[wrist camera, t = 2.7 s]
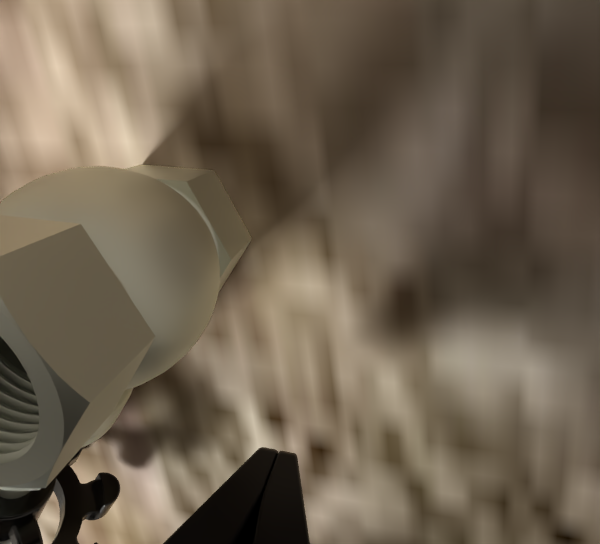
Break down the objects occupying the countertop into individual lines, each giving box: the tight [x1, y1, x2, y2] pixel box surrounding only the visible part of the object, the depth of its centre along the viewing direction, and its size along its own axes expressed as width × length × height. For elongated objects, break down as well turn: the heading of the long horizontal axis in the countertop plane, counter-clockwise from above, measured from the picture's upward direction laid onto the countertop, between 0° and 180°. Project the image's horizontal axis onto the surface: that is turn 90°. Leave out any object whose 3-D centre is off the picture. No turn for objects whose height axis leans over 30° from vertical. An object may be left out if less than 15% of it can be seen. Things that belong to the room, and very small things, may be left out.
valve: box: [0, 165, 252, 544], centre depth 10 cm, size 7×7×12 cm
